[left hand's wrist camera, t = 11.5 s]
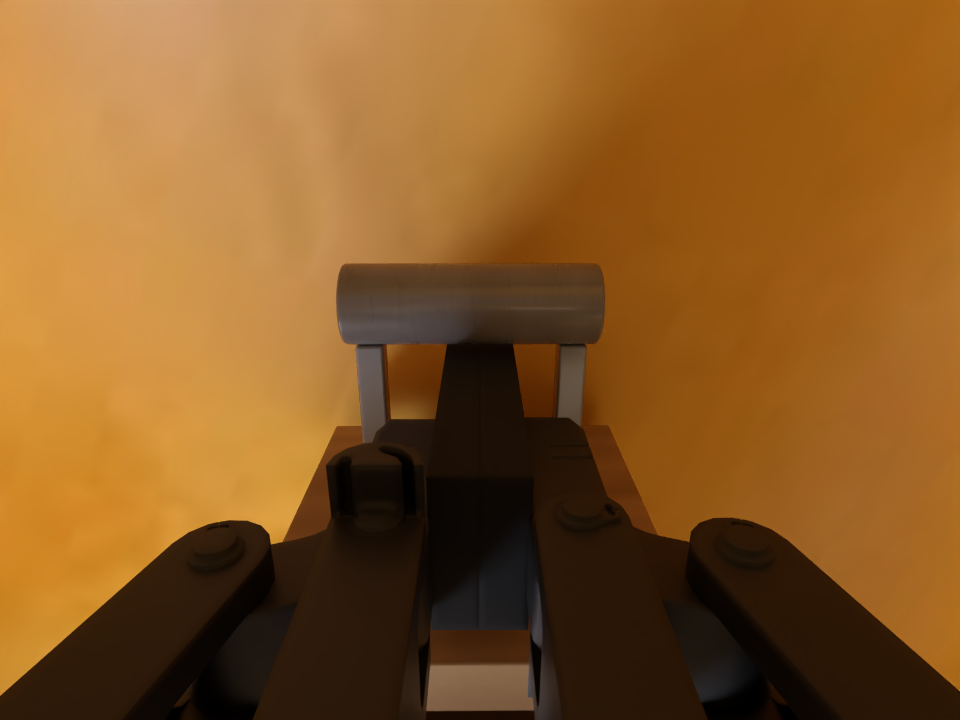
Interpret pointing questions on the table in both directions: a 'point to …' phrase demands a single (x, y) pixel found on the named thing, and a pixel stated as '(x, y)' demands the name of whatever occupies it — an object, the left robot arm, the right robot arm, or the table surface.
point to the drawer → (472, 320)
